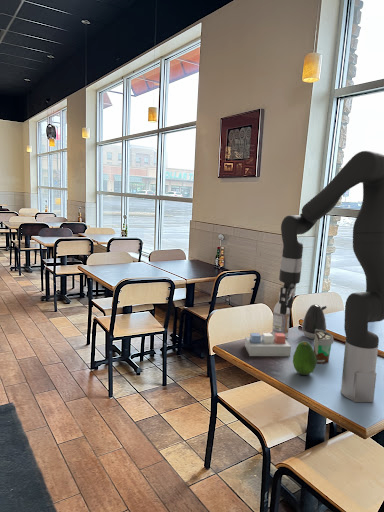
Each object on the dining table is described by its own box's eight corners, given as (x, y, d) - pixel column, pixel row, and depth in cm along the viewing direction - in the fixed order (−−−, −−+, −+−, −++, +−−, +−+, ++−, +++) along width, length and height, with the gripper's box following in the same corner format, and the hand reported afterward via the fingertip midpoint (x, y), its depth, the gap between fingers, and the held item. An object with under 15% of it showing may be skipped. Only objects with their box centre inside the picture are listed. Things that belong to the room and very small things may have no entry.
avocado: (287, 372, 131) (289, 340, 129) (302, 367, 135) (304, 335, 134) (305, 381, 125) (308, 347, 123) (320, 376, 129) (323, 343, 127)
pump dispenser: (330, 341, 162) (333, 307, 159) (309, 342, 159) (311, 308, 157) (317, 332, 172) (320, 301, 169) (297, 334, 169) (299, 302, 167)
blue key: (260, 346, 147) (260, 336, 146) (251, 346, 147) (252, 336, 146) (258, 343, 150) (258, 333, 150) (250, 343, 150) (250, 332, 150)
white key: (272, 346, 147) (273, 336, 147) (264, 346, 147) (264, 336, 146) (270, 343, 151) (271, 333, 150) (262, 343, 150) (262, 333, 150)
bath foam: (286, 340, 161) (289, 295, 158) (270, 337, 164) (273, 293, 161) (289, 335, 167) (292, 292, 164) (273, 332, 170) (276, 290, 167)
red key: (284, 346, 148) (285, 336, 147) (276, 346, 147) (277, 336, 147) (282, 343, 151) (283, 333, 150) (274, 343, 151) (274, 333, 150)
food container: (334, 367, 136) (336, 341, 134) (317, 365, 137) (319, 339, 136) (329, 354, 148) (331, 330, 146) (313, 352, 149) (315, 328, 148)
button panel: (290, 356, 145) (291, 346, 144) (249, 356, 144) (250, 346, 143) (282, 346, 155) (283, 337, 154) (244, 345, 154) (245, 336, 153)
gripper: (296, 274, 129) (291, 318, 132) (305, 267, 141) (300, 307, 144) (275, 271, 132) (270, 314, 135) (285, 264, 144) (281, 303, 148)
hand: (285, 310), depth 140 cm, fingers open, 8 cm apart
